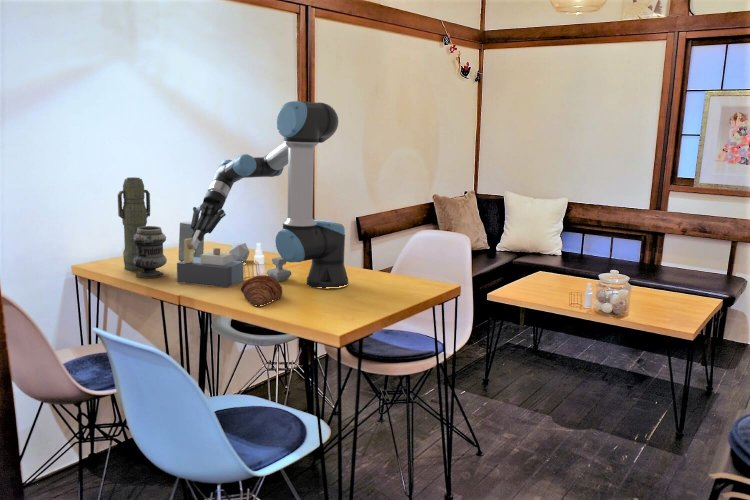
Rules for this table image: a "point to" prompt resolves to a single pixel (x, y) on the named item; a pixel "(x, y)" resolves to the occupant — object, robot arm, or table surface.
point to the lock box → (210, 273)
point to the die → (239, 251)
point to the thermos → (132, 216)
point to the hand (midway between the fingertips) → (192, 246)
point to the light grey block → (217, 257)
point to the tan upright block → (188, 251)
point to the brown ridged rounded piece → (261, 290)
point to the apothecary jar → (149, 251)
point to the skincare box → (185, 234)
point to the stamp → (279, 270)
